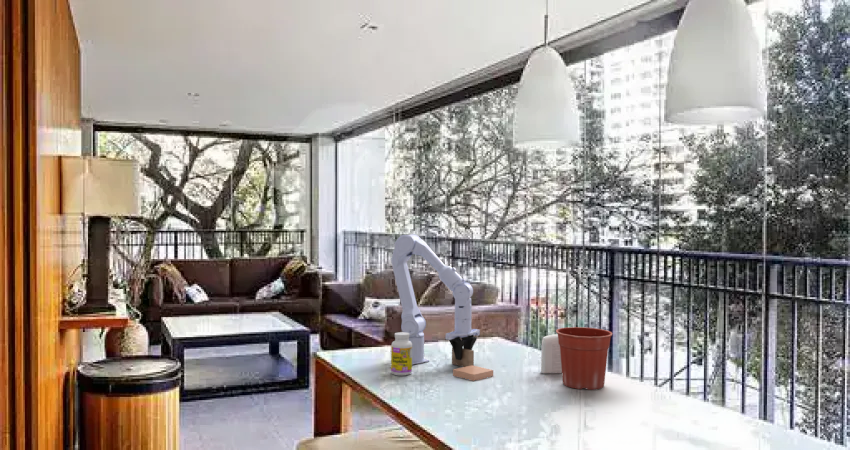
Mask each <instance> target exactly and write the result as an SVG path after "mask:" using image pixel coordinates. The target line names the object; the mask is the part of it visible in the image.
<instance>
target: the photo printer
mask: <svg viewBox="0 0 850 450" xmlns="http://www.w3.org/2000/svg"><path fill="white" fill-rule="evenodd" d="M540 361H541V362H540V372H541V373H542V374H562V366H561V354H560V345H559V342H558V334H557V333H555V334H554V333H553V334H549V335H546V336H543V337H542V338H541V357H540Z"/></svg>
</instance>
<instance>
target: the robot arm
mask: <svg viewBox="0 0 850 450" xmlns="http://www.w3.org/2000/svg"><path fill="white" fill-rule="evenodd" d="M393 245H394V246H393V247H394V248H393V251H392V255H391V258H390V260H391V266H392V270H393V271H392V272H393V275H394V279H395V280H394V281H395V284H396V288H397V291H398V292H397V293H398V296H399V300H400V303H401V309H402V312H401V316H400V317H401V326H400V327H401V328H400V330H401V332H406V333H409V341H410V342H411V343H412V365H417V364H422V363H427V362H430V360H429V359H426V358H425V333H424V330H425V329H426V328H427V321H426V319H425V318H424V316H423V315H422V311H421V309H420V308H419V307H418V304H417V299H416V295H415V291H414V287H413V282H412V278H411V274H410V270H409V266H408V262H409V260H410V259H411V257H412V255H416V256H420V257H422V258H424V260H425V261H426V262H427V263H428V264H429V265H430V266H432V267H433V268H434V270H435V271H437V273H438V274H437V275H438V276H437V277H438V279H439V280H440V281H441V282H442V283H443V284H444V285H445V286H446V288H448V289H449V291H451V292H452V296H453V298H454V331H453V330H452V331H451V332H447V333H446V332H445V340H448V341H449V344H450V345H451V348H453V350H454V354H455V358H456V359H457V360H461V359H462V349H463V348H465V349H469V350H473V347H474V345H475V344H476V342H477V337H476V336H480V332H481V330H480V329H477V328H472V310H473V308H472V297H473V295H474V287H473V286H472V285H471V283H470V282H467V280H466V278H462V277H461V275H460V274H459V273H458V272H457V268H456V267H454V266H453V267H452V266H451V265H446V264H444V262H443V261H442V260H441V259H440V257H438V255H437V254H436V253H435V252H434V251H433V249H432V248H431V247H430V246H429V245H428V243H427V242H426V241H425V240H423V239H422V238H421V237H420V236H419V235H418V234H416V233H410V234H401V235H399V237H398V238H397V239H396V240H395V242H394V244H393Z"/></svg>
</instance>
